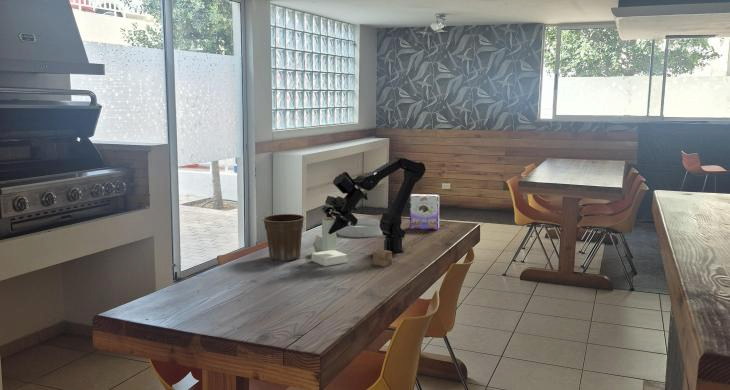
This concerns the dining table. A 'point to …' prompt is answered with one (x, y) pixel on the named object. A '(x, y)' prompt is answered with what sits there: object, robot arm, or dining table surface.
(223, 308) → the dining table surface
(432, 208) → the candy box
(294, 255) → the plant pot
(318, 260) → the slab
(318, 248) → the die
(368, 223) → the dish
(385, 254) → the walnut cube
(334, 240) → the tea tin
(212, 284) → the dining table surface
